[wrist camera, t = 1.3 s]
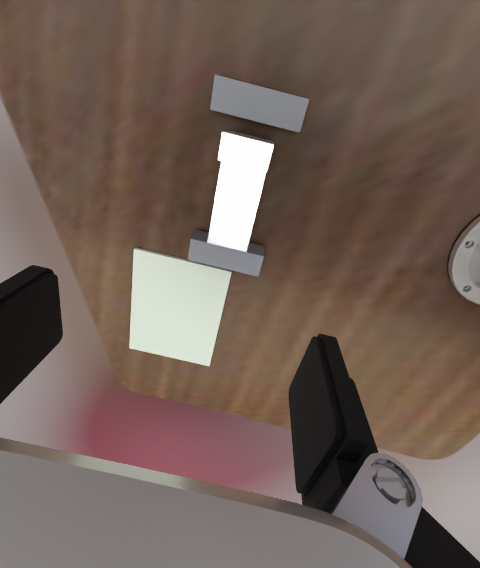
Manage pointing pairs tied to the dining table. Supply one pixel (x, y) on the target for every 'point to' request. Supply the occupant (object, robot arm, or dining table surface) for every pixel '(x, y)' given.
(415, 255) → the dining table surface
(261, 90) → the vise jaws
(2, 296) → the robot arm
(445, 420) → the dining table surface
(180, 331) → the mat
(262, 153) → the white pedestal stand
